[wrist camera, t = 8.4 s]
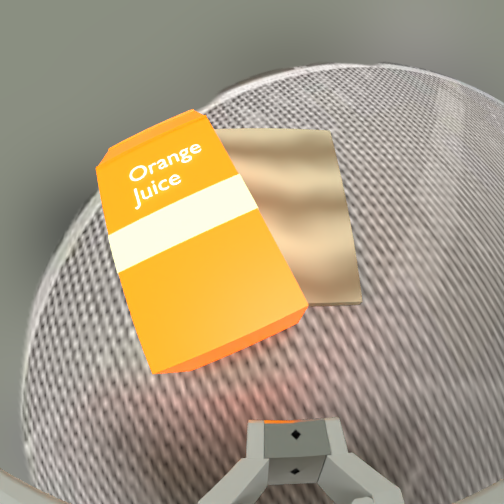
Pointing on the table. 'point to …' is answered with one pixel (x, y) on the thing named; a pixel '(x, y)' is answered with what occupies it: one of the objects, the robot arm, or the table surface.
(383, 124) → the table surface
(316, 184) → the board
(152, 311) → the orange juice
